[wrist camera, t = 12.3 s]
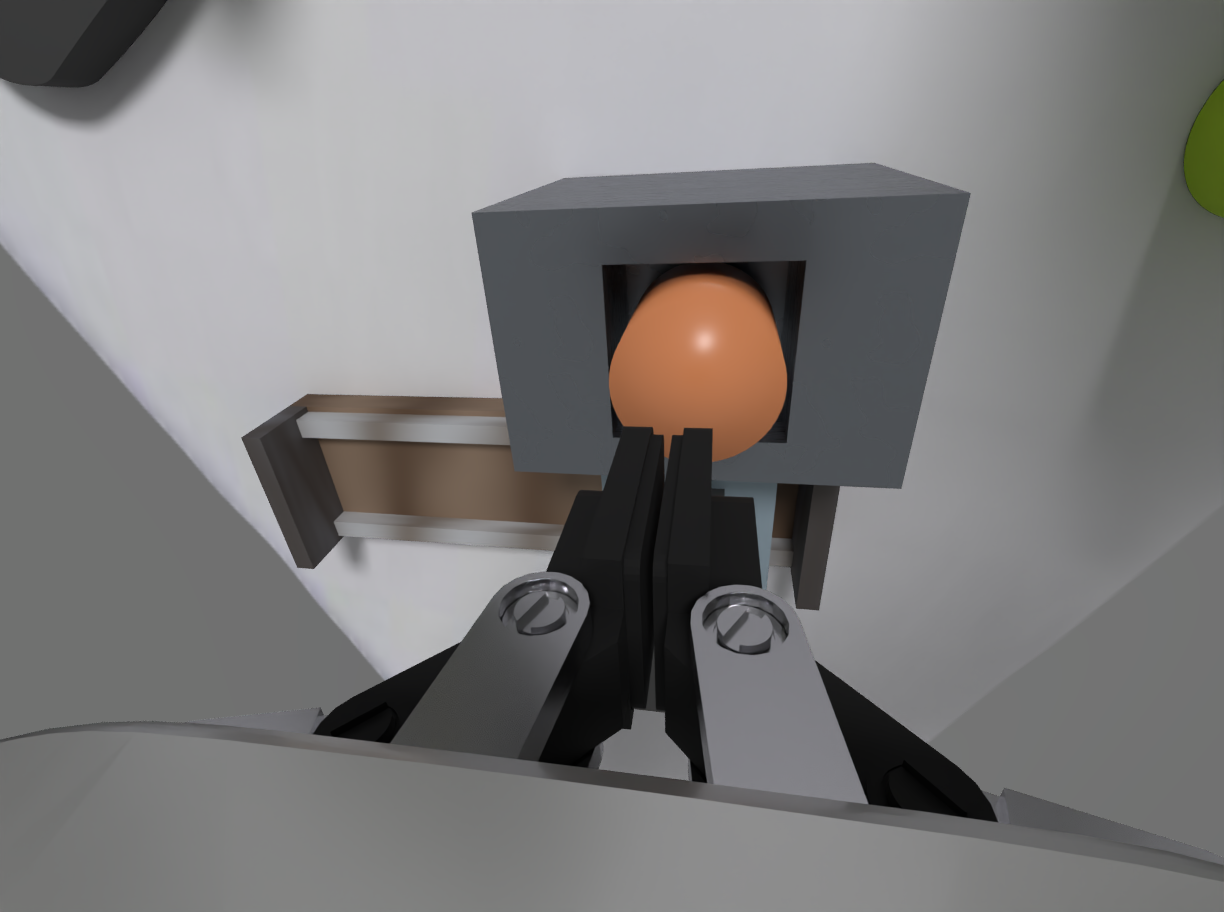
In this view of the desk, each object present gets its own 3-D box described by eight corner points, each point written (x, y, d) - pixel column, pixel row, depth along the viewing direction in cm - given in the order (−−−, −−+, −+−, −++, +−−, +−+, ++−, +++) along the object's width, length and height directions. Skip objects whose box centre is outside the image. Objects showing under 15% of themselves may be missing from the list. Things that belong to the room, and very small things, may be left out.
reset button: (781, 258, 16) (796, 298, 13) (768, 399, 19) (778, 466, 15) (629, 262, 17) (603, 300, 14) (634, 396, 19) (613, 459, 16)
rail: (825, 405, 27) (844, 460, 22) (806, 541, 30) (818, 610, 26) (307, 394, 31) (241, 437, 27) (349, 513, 35) (297, 567, 31)
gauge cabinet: (874, 162, 21) (970, 193, 13) (841, 375, 26) (897, 502, 17) (563, 178, 24) (471, 212, 15) (581, 372, 28) (516, 483, 19)
